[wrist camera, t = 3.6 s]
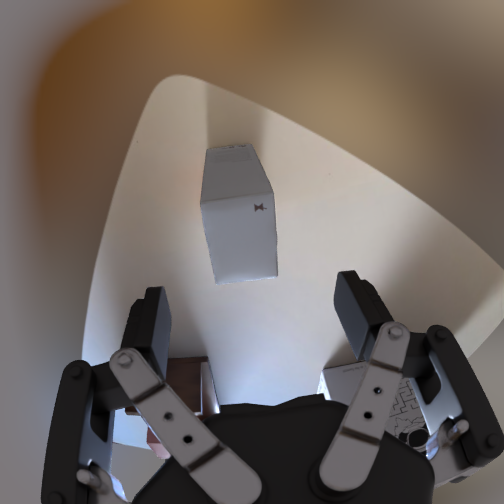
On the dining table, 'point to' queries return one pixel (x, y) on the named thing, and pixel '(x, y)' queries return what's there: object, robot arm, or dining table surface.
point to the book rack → (190, 385)
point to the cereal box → (403, 412)
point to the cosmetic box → (238, 215)
